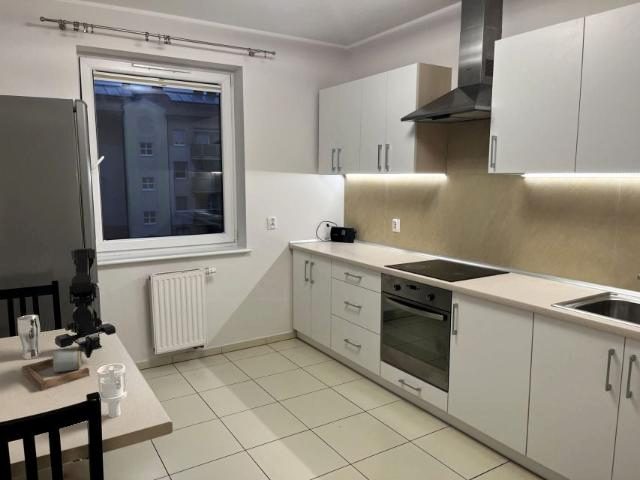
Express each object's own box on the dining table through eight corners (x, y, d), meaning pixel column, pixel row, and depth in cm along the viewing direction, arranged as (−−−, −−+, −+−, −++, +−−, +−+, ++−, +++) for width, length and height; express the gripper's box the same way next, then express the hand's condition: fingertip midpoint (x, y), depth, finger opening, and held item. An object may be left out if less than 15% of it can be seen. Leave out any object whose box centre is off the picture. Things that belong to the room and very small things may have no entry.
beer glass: (20, 361, 170) (15, 321, 168) (21, 354, 176) (17, 316, 174) (42, 357, 173) (38, 318, 171) (43, 351, 179) (39, 313, 177)
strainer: (101, 423, 128) (97, 371, 126) (100, 411, 135) (96, 362, 132) (128, 417, 131) (125, 367, 129) (127, 406, 137) (123, 357, 135)
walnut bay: (68, 360, 171) (67, 353, 170) (89, 375, 158) (88, 368, 158) (22, 373, 160) (22, 366, 160) (41, 390, 147) (41, 383, 147)
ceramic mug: (80, 372, 160) (79, 350, 159) (53, 376, 157) (51, 354, 156) (83, 361, 170) (81, 340, 169) (58, 364, 167) (56, 344, 166)
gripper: (101, 305, 176) (104, 344, 179) (46, 317, 162) (51, 360, 165) (114, 311, 169) (118, 352, 171) (59, 324, 155) (63, 368, 157)
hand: (88, 357), depth 166 cm, fingers closed
